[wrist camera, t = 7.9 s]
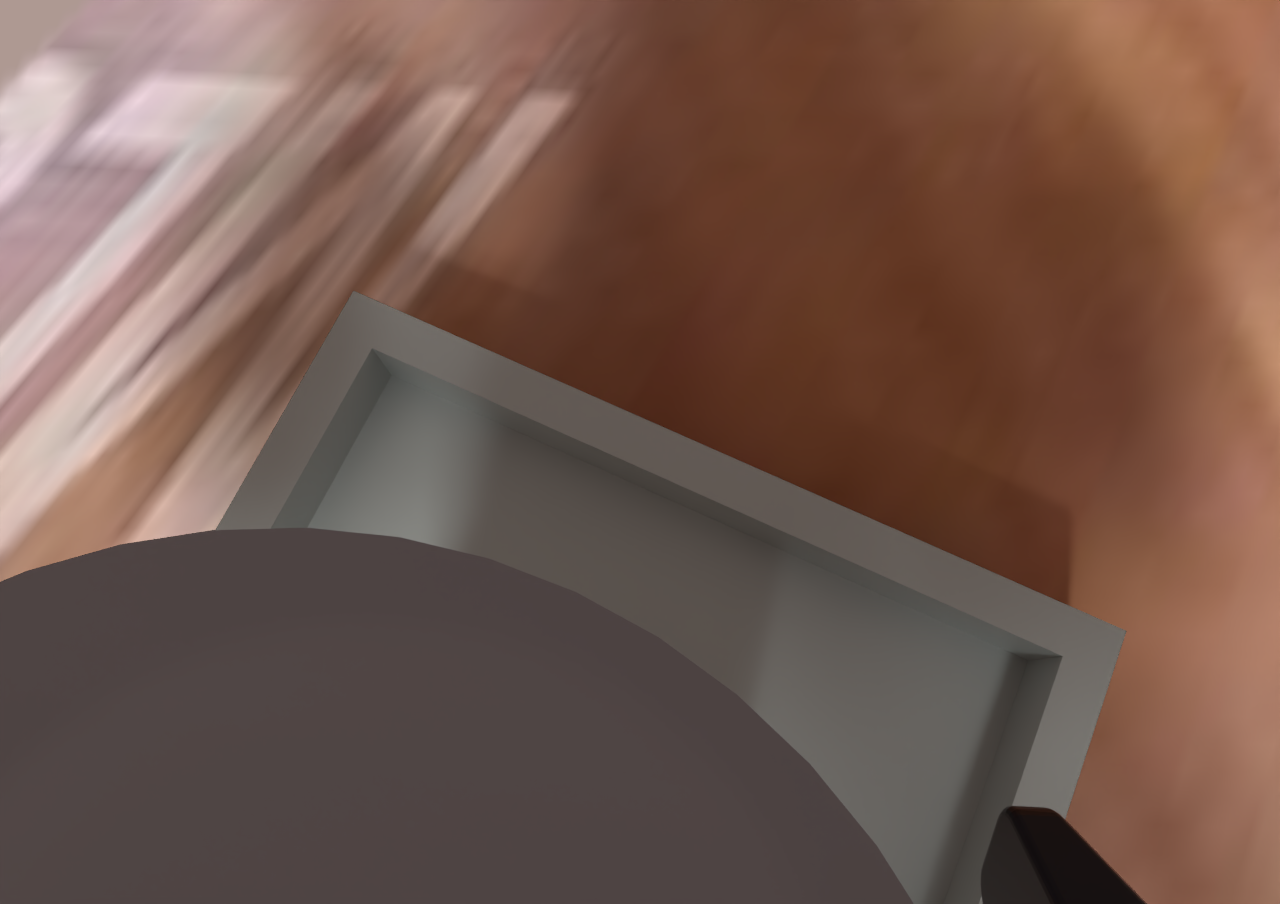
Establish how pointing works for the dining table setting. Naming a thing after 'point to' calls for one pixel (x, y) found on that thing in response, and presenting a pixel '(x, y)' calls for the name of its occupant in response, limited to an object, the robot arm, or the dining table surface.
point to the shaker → (383, 740)
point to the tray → (710, 579)
